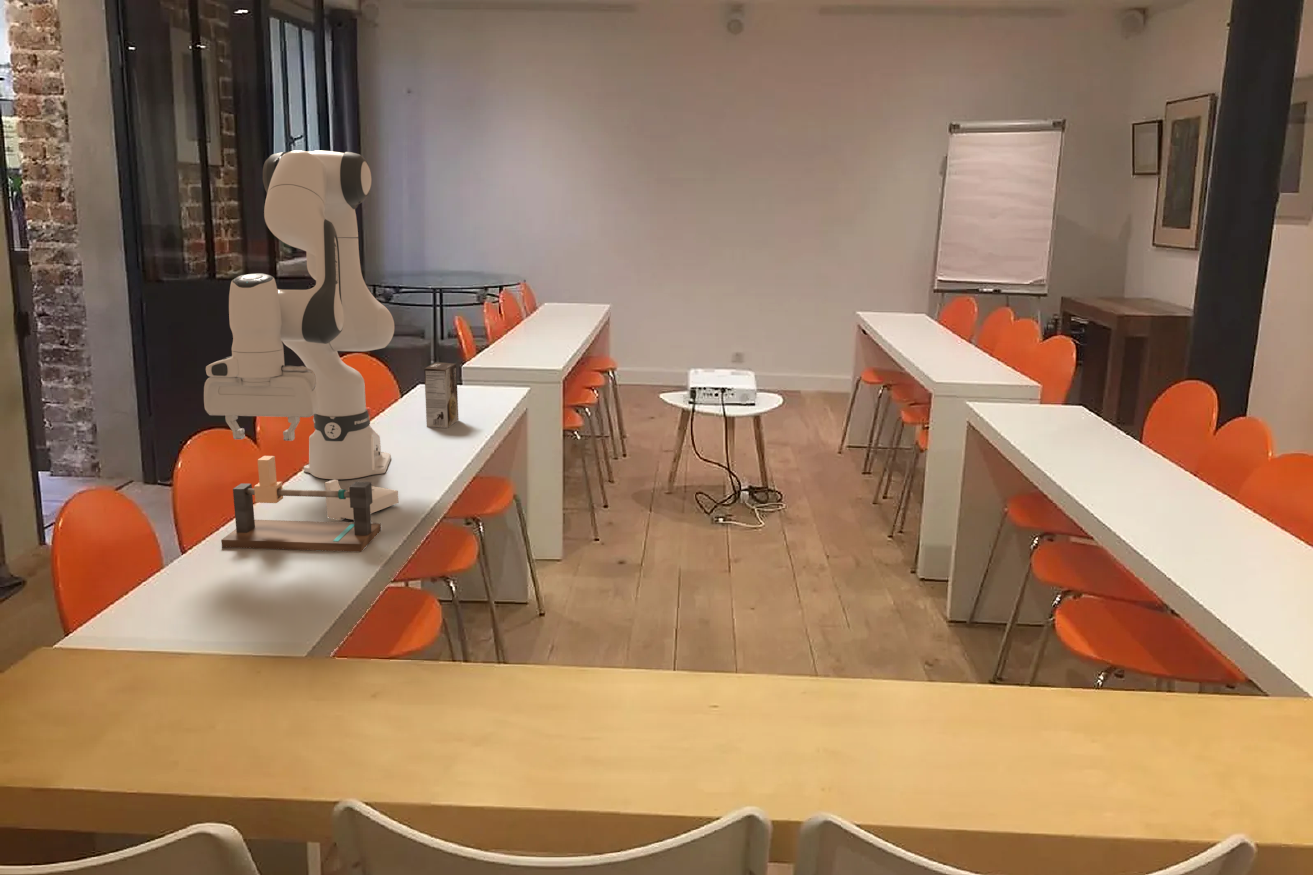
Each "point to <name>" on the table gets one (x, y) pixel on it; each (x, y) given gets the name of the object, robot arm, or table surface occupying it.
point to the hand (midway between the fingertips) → (264, 439)
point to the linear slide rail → (304, 523)
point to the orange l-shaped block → (267, 481)
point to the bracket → (342, 506)
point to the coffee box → (441, 394)
